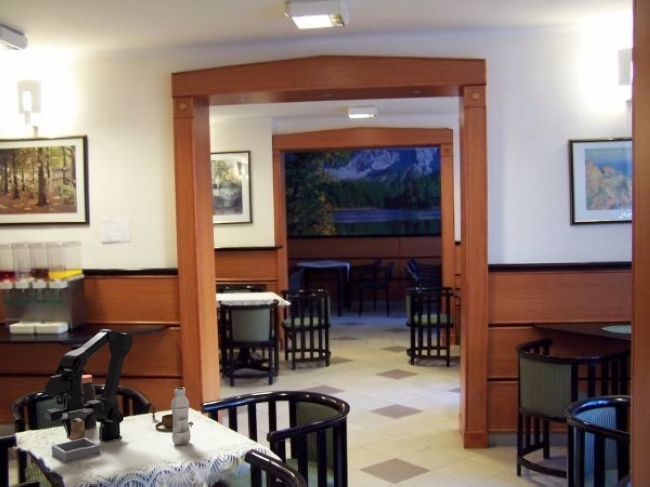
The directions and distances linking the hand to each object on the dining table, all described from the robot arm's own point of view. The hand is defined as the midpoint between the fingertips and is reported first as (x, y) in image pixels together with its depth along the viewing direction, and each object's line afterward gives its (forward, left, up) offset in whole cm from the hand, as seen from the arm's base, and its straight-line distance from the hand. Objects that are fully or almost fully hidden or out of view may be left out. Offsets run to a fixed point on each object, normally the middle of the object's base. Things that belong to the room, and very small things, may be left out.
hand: (75, 434), depth 238 cm
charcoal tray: (0, 0, -7) cm, 7 cm away
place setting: (-41, -6, -8) cm, 42 cm away
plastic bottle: (-31, +18, -7) cm, 36 cm away
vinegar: (-16, -27, -7) cm, 32 cm away
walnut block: (0, 0, -1) cm, 1 cm away
